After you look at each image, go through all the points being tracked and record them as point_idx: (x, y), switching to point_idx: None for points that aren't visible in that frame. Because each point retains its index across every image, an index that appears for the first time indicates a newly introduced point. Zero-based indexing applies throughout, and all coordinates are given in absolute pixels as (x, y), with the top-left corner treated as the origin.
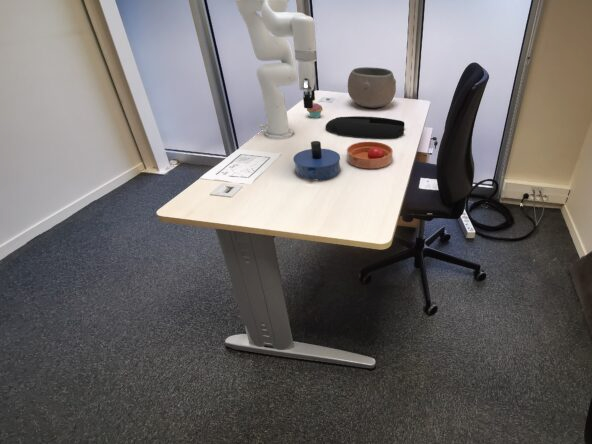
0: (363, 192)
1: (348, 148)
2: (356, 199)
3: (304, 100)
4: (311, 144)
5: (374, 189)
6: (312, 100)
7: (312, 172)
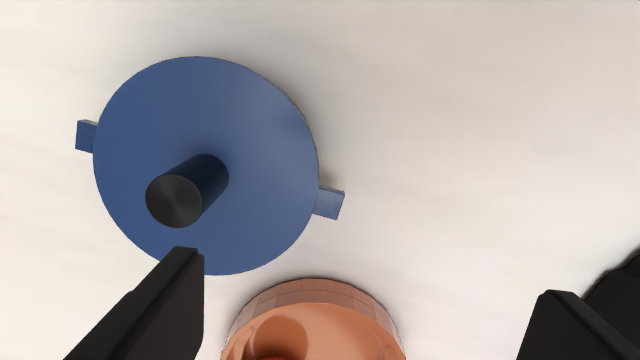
0: (57, 296)
1: (340, 310)
2: (7, 270)
3: (118, 325)
4: (160, 175)
5: (80, 329)
6: (521, 351)
7: (77, 146)
